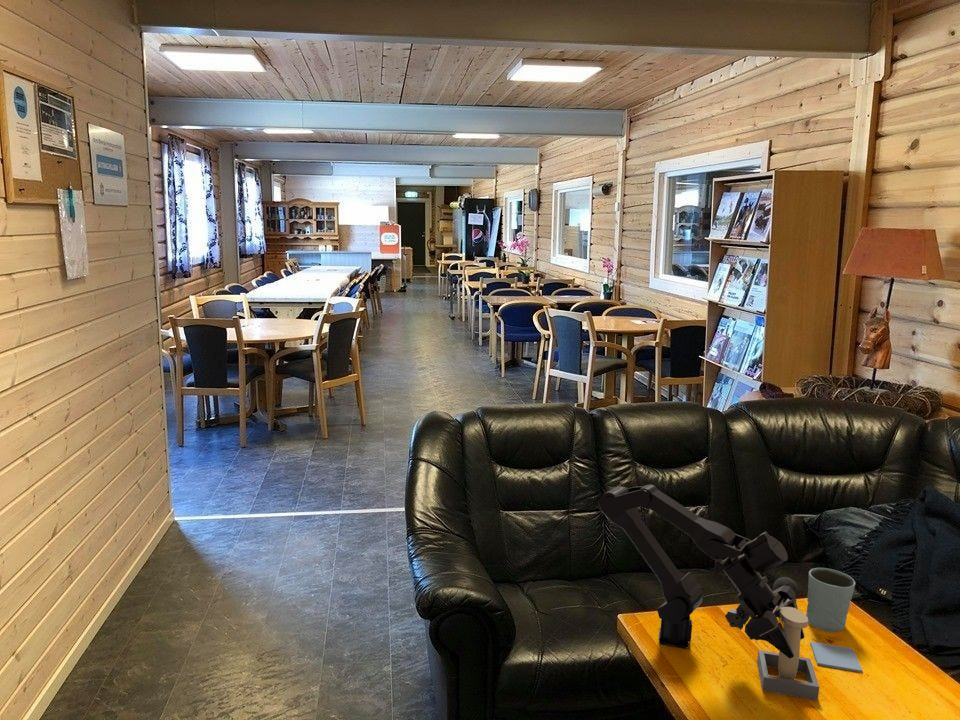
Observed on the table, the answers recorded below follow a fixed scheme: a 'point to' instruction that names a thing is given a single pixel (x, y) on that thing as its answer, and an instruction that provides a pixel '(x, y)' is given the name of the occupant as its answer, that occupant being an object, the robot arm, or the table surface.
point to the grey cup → (829, 598)
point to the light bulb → (787, 582)
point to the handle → (791, 640)
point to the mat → (835, 657)
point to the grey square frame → (787, 685)
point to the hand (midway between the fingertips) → (797, 647)
